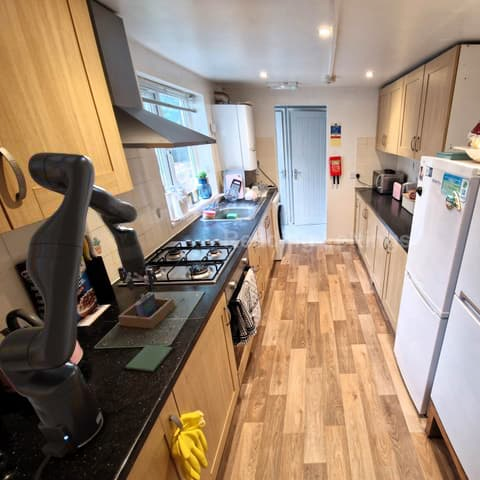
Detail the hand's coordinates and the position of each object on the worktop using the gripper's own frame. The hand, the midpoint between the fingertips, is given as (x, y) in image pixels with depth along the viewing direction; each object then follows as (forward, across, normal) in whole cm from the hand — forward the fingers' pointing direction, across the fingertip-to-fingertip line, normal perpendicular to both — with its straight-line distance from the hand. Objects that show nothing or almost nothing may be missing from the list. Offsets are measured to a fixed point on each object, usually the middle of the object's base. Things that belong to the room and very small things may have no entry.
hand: (142, 290), depth 108 cm
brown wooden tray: (+13, 0, 0) cm, 13 cm away
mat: (+13, +17, -21) cm, 30 cm away
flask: (+13, 0, 0) cm, 13 cm away
